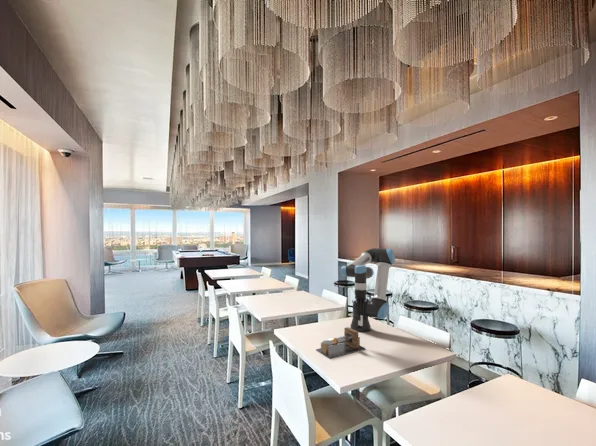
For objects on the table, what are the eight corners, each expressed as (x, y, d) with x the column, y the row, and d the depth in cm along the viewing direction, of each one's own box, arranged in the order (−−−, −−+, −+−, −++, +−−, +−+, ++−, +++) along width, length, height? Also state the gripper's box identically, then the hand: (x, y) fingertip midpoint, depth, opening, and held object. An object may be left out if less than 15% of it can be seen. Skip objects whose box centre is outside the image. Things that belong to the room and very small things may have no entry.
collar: (347, 342, 192) (347, 327, 193) (358, 347, 184) (358, 331, 184) (344, 343, 191) (344, 327, 191) (354, 348, 182) (354, 332, 182)
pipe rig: (350, 342, 196) (350, 329, 196) (365, 349, 184) (365, 336, 184) (316, 350, 182) (316, 337, 182) (329, 358, 170) (329, 344, 170)
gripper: (363, 287, 199) (363, 322, 198) (349, 288, 192) (348, 325, 191) (371, 289, 193) (371, 325, 191) (356, 290, 186) (356, 328, 185)
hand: (360, 325), depth 191 cm, fingers closed
